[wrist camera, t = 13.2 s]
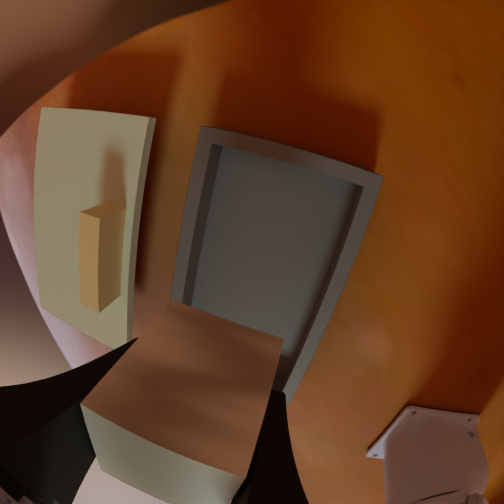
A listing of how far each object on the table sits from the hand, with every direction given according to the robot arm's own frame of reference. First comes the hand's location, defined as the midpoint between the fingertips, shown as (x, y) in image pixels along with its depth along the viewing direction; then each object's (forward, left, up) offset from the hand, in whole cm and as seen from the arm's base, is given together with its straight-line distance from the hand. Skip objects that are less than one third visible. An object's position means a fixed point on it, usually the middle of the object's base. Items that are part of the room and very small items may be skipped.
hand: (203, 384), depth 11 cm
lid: (+12, 0, -8) cm, 14 cm away
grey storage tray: (0, 0, -10) cm, 10 cm away
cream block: (0, 0, -2) cm, 2 cm away
